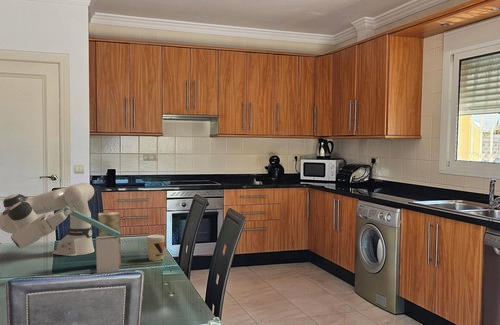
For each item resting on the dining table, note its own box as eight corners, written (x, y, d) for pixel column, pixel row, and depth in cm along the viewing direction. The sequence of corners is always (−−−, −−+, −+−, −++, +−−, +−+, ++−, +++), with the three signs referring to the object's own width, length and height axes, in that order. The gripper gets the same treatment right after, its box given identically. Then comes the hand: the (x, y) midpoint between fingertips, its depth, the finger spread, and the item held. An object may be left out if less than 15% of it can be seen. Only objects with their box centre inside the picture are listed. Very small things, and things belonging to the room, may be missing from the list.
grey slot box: (96, 273, 210) (96, 240, 209) (97, 270, 217) (96, 237, 216) (119, 271, 213) (118, 238, 212) (118, 268, 220) (118, 235, 219)
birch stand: (99, 268, 220) (98, 215, 219) (99, 264, 228) (98, 213, 227) (120, 266, 223) (119, 214, 222) (120, 262, 231) (119, 211, 230)
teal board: (62, 210, 206) (65, 207, 206) (63, 209, 210) (66, 205, 210) (118, 238, 213) (120, 234, 214) (118, 236, 218) (120, 232, 218)
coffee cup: (156, 261, 231) (156, 238, 231) (143, 259, 236) (142, 236, 236) (168, 258, 239) (168, 235, 238) (155, 255, 244) (155, 233, 243)
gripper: (54, 225, 216) (80, 209, 220) (48, 233, 197) (77, 215, 200) (46, 214, 215) (73, 199, 219) (40, 221, 196) (69, 204, 199)
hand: (75, 207), depth 209 cm, fingers closed on teal board, 4 cm apart
